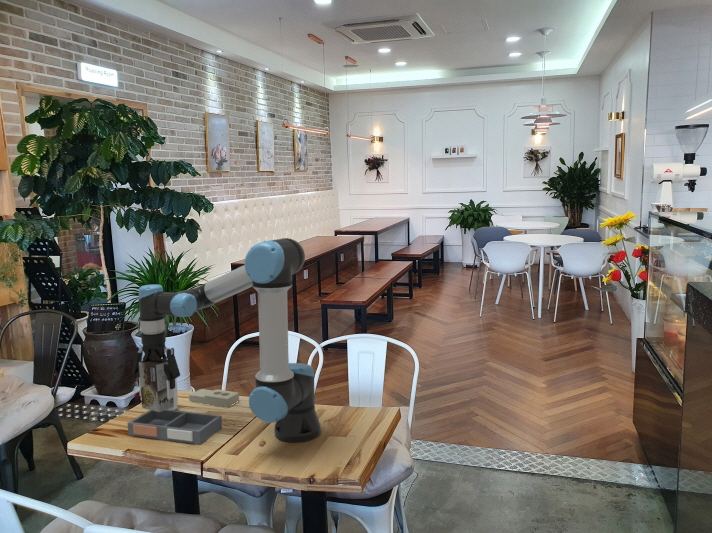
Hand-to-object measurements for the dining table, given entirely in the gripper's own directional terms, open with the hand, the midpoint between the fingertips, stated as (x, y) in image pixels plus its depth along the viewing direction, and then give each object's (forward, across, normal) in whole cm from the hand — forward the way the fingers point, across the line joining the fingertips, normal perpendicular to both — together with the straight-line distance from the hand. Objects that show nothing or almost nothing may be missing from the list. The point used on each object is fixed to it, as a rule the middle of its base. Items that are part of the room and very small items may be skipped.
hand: (157, 396), depth 189 cm
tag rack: (+12, -6, 0) cm, 13 cm away
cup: (+12, +8, -15) cm, 20 cm away
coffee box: (+4, 0, 0) cm, 4 cm away
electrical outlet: (+12, -4, -28) cm, 31 cm away
